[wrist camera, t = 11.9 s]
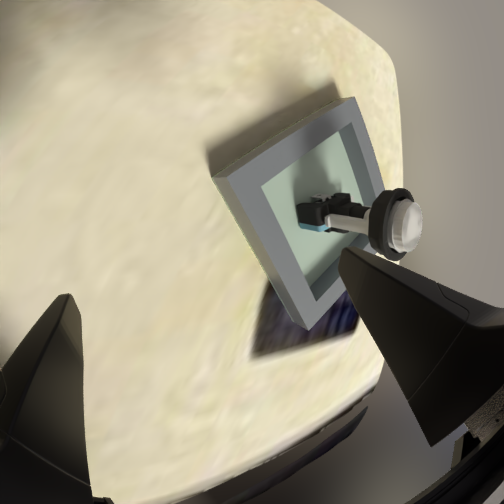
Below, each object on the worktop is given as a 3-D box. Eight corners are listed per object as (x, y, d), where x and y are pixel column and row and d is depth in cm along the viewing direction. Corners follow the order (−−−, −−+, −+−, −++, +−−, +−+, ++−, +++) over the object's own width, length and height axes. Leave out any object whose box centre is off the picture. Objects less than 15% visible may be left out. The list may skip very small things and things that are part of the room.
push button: (338, 173, 28) (431, 179, 20) (345, 223, 30) (432, 241, 22) (288, 190, 25) (393, 200, 17) (299, 247, 27) (395, 276, 19)
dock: (288, 319, 29) (308, 330, 27) (206, 177, 22) (226, 177, 19) (374, 225, 35) (394, 229, 32) (331, 100, 27) (354, 96, 24)
